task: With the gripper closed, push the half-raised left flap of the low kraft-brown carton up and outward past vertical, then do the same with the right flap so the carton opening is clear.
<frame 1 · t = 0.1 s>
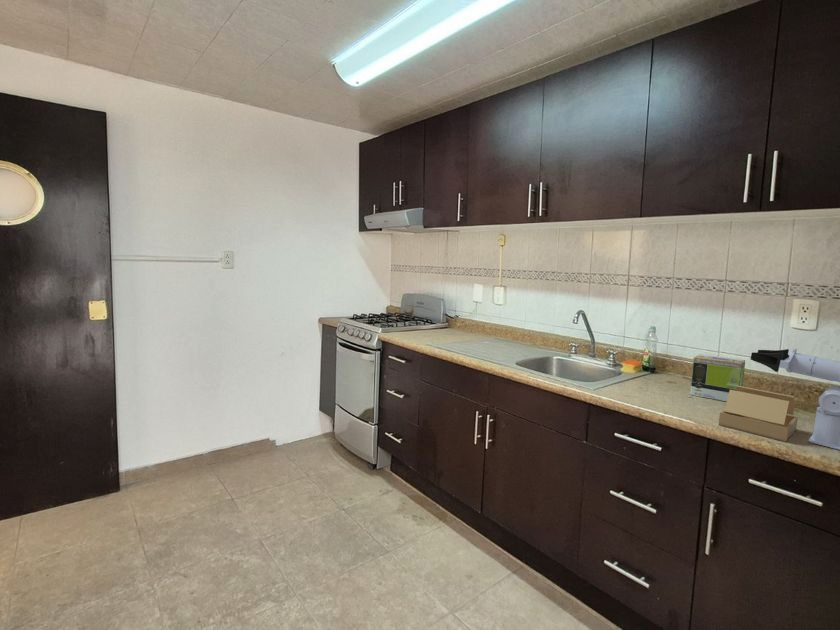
hand: (754, 354, 133), 22 cm above the countertop, tool horizontal, fingers open, 7 cm apart
carton: (756, 427, 132), on the countertop
left flap: (755, 406, 128), point 8 cm above the countertop, hinge at 60.0°
tea box: (715, 397, 164), on the countertop
right flap: (764, 399, 135), point 8 cm above the countertop, hinge at 60.0°
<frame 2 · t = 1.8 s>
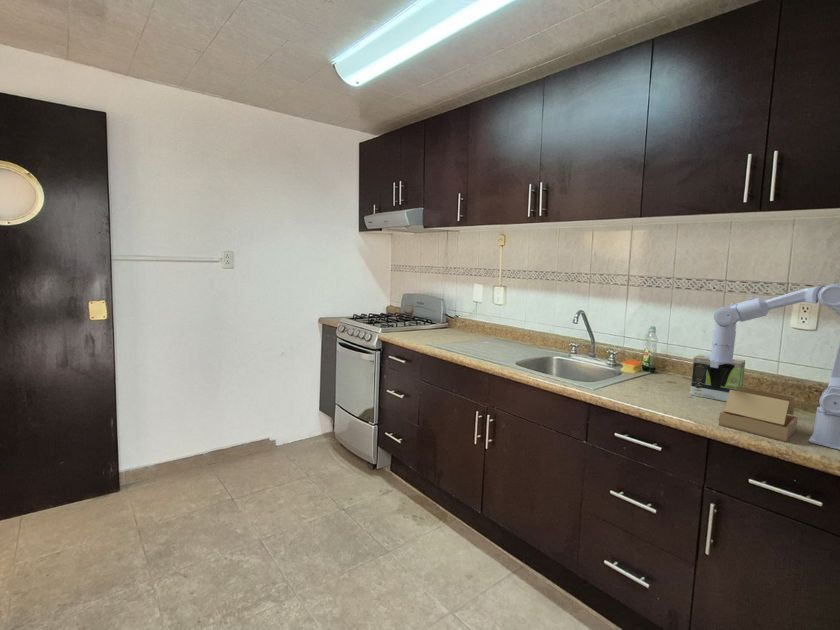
hand: (718, 387, 139), 10 cm above the countertop, tool pointing down, fingers open, 5 cm apart
nothing on the countertop moved.
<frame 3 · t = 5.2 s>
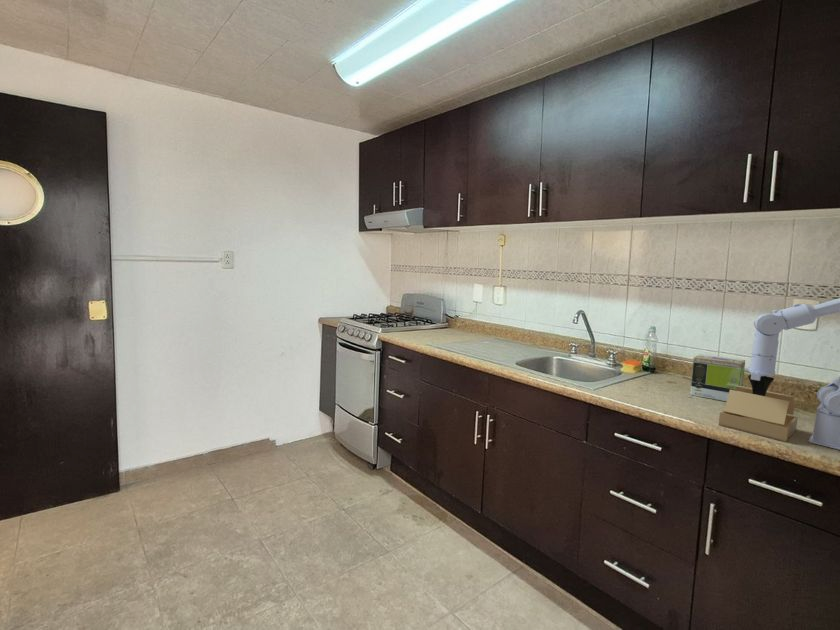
hand: (758, 400, 129), 9 cm above the countertop, tool pointing down, fingers closed, pressing on left flap
left flap: (755, 406, 128), point 8 cm above the countertop, hinge at 60.6°, touching gripper
everything else where it was.
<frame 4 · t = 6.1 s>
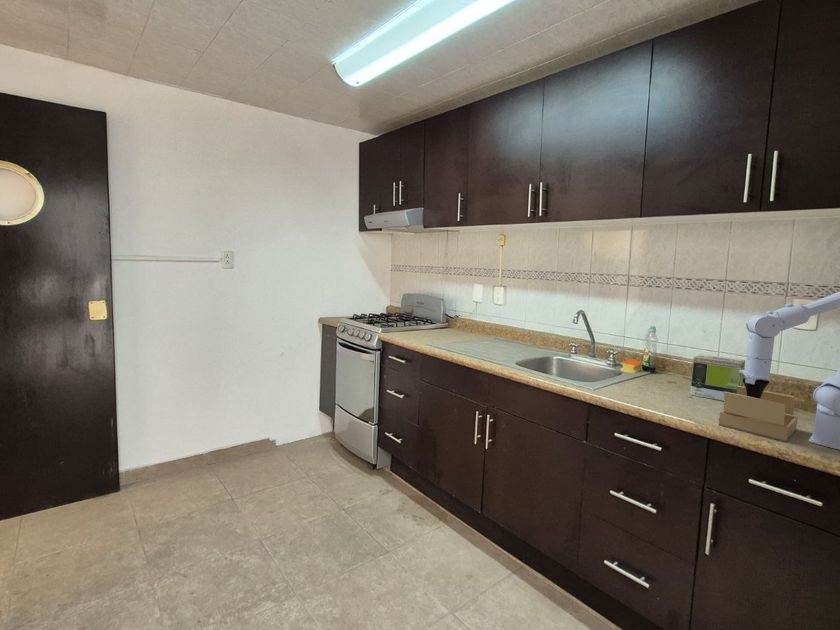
hand: (752, 404, 125), 9 cm above the countertop, tool pointing down, fingers closed, pressing on left flap
left flap: (753, 407, 126), point 8 cm above the countertop, hinge at 112.6°, touching gripper
everything else where it was.
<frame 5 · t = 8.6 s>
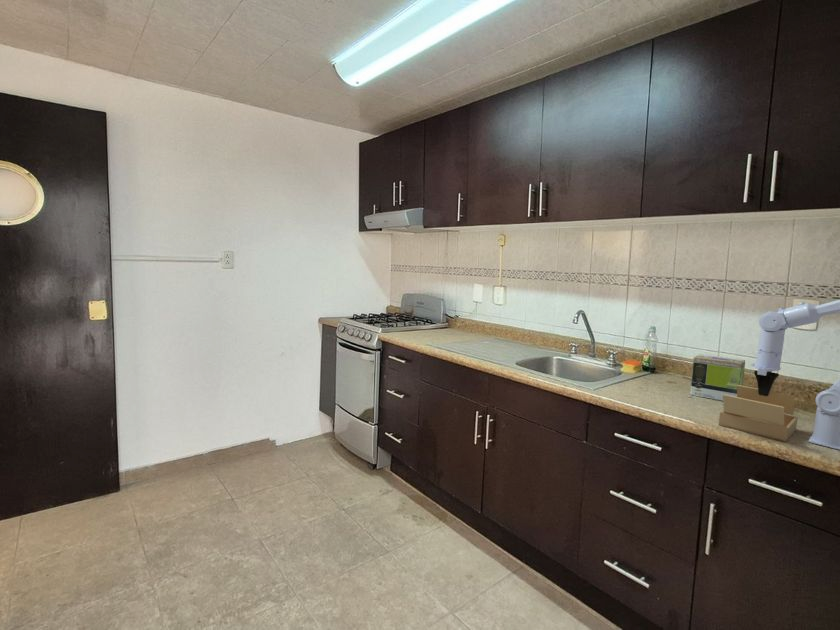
hand: (763, 395, 134), 9 cm above the countertop, tool pointing down, fingers closed, pressing on right flap
left flap: (752, 409, 125), point 8 cm above the countertop, hinge at 123.6°
right flap: (764, 399, 135), point 8 cm above the countertop, hinge at 63.6°, touching gripper
everything else where it was.
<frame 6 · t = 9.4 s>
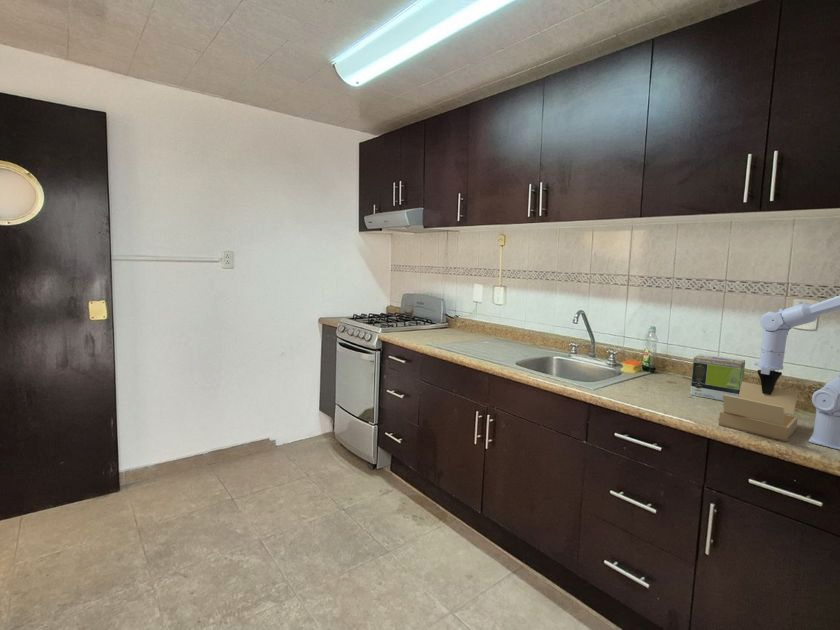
hand: (766, 393, 137), 9 cm above the countertop, tool pointing down, fingers closed, pressing on right flap
right flap: (766, 397, 137), point 8 cm above the countertop, hinge at 113.5°, touching gripper
everything else where it was.
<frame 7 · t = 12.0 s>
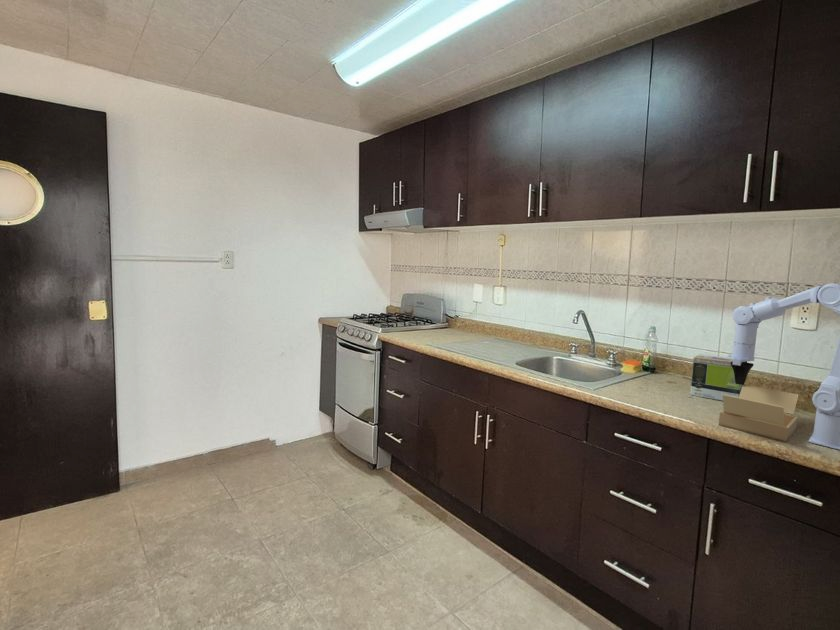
hand: (739, 384, 144), 10 cm above the countertop, tool pointing down, fingers closed, pressing on right flap
right flap: (767, 398, 138), point 7 cm above the countertop, hinge at 131.3°, touching gripper
everything else where it was.
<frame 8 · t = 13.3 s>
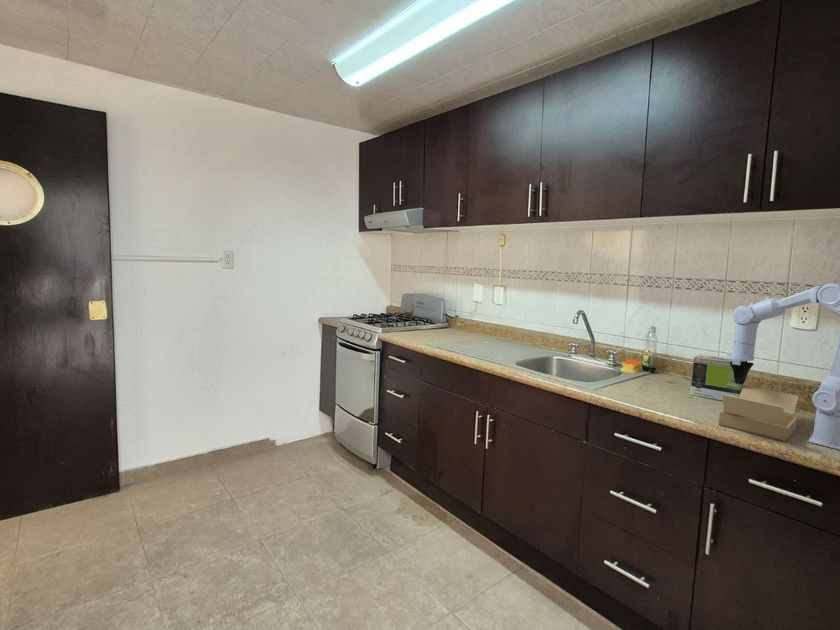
hand: (739, 383, 145), 10 cm above the countertop, tool pointing down, fingers closed
right flap: (767, 399, 138), point 7 cm above the countertop, hinge at 136.9°
everything else where it was.
at the end: left flap at +124° (first picture: +60°); right flap at +137° (first picture: +60°) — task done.
